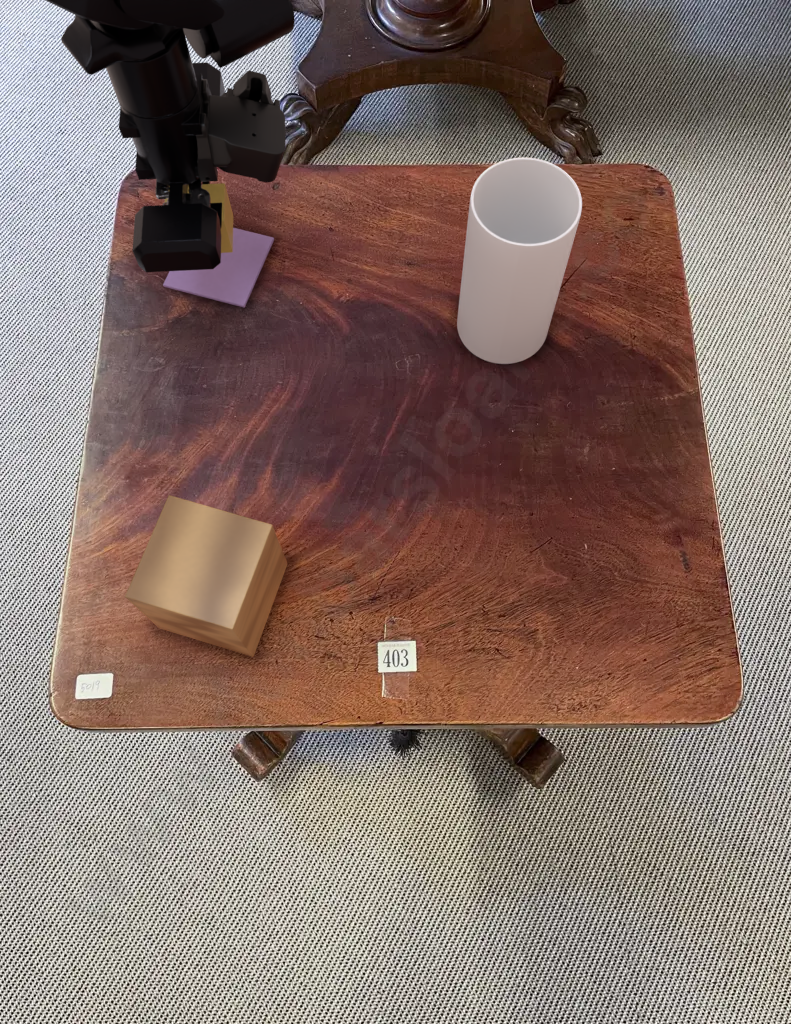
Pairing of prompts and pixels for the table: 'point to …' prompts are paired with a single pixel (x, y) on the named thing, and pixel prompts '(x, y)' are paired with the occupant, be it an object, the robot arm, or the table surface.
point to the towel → (227, 271)
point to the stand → (209, 575)
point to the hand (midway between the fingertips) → (203, 235)
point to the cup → (515, 257)
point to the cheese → (221, 196)
